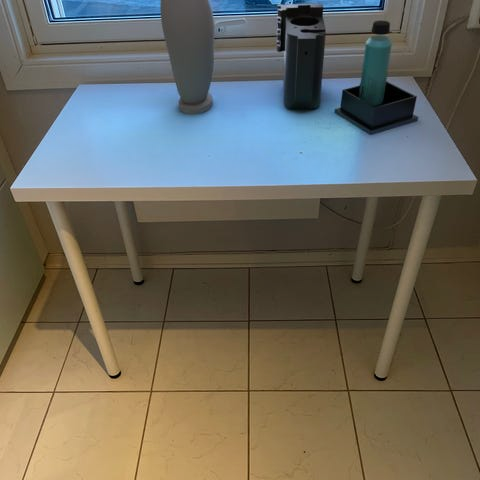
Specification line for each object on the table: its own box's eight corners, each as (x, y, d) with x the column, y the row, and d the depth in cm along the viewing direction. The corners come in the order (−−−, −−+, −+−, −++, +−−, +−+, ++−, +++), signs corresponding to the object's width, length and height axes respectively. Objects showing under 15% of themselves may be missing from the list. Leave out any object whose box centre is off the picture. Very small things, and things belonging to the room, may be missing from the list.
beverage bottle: (387, 108, 134) (402, 22, 120) (368, 115, 132) (382, 28, 118) (369, 99, 138) (382, 15, 124) (351, 106, 136) (361, 21, 122)
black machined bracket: (316, 83, 150) (323, -4, 135) (321, 114, 136) (329, 21, 120) (275, 84, 151) (277, -3, 135) (275, 115, 136) (277, 22, 121)
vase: (215, 116, 137) (205, -44, 112) (166, 115, 138) (146, -43, 113) (221, 95, 146) (213, -56, 121) (175, 95, 147) (159, -55, 122)
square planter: (417, 120, 132) (422, 97, 128) (370, 135, 127) (374, 110, 123) (379, 100, 141) (383, 77, 137) (334, 112, 137) (336, 89, 132)
